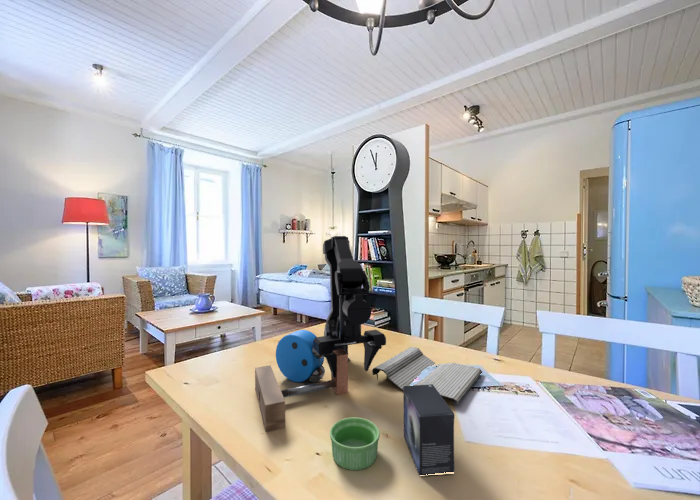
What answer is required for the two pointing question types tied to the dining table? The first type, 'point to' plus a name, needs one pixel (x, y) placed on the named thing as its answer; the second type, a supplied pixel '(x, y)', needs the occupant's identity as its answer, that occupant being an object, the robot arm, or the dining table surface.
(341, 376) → the pin
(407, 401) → the small box
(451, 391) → the mat
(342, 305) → the robot arm
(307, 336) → the alarm clock
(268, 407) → the beam
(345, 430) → the ramekin
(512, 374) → the dining table surface
